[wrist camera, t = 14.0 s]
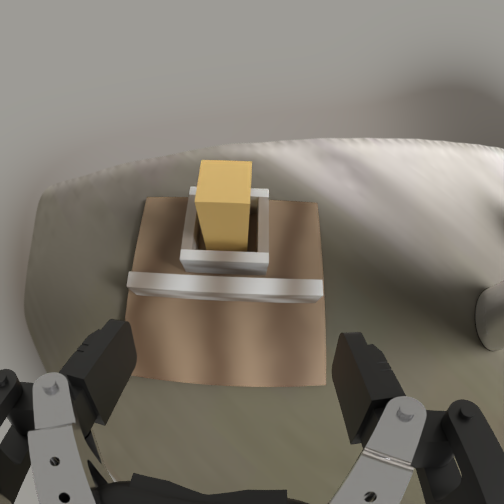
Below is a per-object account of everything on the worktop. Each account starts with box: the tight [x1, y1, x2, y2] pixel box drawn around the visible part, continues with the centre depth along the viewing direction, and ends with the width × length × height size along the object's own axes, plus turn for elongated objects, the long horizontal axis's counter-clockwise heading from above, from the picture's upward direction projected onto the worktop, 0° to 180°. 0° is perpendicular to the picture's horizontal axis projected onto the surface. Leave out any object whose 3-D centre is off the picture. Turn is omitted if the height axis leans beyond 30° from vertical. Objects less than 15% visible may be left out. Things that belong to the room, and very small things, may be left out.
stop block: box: [195, 160, 252, 252], centre depth 26 cm, size 4×4×10 cm
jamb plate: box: [125, 187, 326, 387], centre depth 27 cm, size 20×20×4 cm
